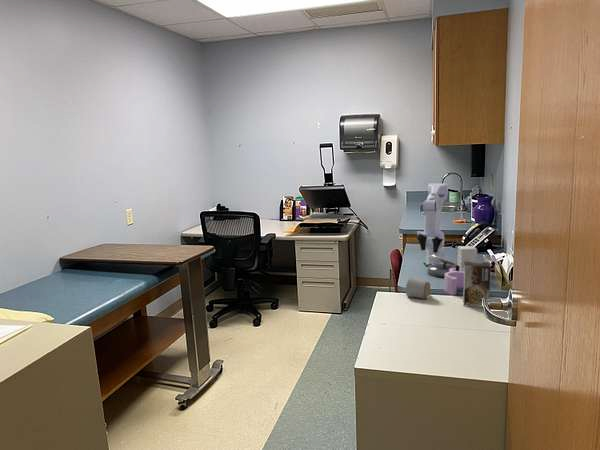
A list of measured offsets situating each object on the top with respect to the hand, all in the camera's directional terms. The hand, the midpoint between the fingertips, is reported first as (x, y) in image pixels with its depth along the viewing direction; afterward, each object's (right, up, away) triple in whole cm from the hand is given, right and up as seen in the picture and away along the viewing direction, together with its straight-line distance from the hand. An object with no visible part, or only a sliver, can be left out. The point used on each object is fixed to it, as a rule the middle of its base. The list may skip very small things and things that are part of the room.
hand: (429, 251), depth 215 cm
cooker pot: (+4, -11, -5) cm, 13 cm away
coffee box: (+3, -18, -50) cm, 53 cm away
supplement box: (+18, -11, -2) cm, 21 cm away
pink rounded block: (+4, -15, -29) cm, 33 cm away
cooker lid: (+5, -4, -6) cm, 9 cm away
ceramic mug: (-16, -16, -39) cm, 45 cm away
